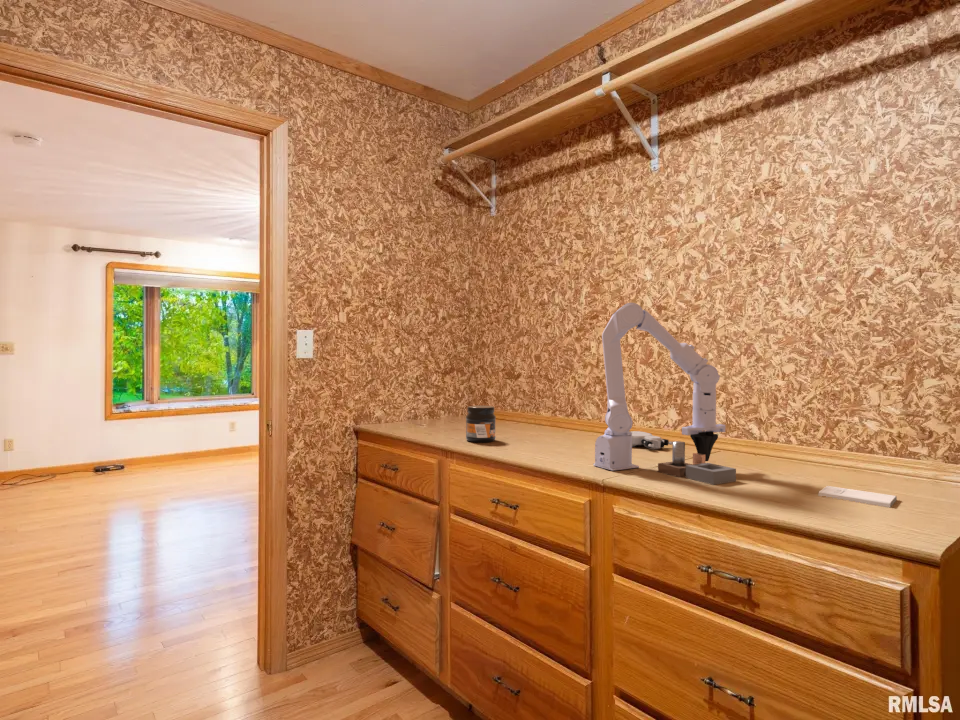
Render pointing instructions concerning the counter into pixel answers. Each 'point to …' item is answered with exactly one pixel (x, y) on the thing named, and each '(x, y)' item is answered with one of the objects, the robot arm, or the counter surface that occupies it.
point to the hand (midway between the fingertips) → (703, 460)
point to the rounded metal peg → (678, 453)
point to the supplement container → (480, 424)
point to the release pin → (698, 458)
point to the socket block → (672, 469)
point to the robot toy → (648, 440)
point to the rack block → (711, 473)
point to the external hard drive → (858, 496)
